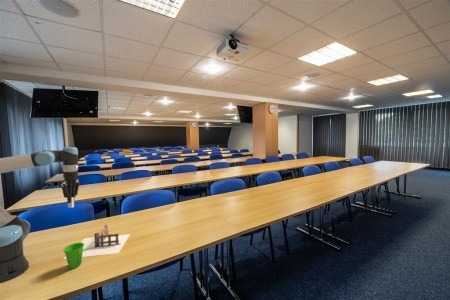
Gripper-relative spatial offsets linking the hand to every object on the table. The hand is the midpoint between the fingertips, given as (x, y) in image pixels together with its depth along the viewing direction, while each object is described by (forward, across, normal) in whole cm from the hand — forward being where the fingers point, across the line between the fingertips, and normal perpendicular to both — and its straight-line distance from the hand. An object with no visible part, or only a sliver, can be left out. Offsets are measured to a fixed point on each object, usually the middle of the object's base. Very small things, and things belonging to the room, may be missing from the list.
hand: (71, 207), depth 125 cm
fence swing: (+25, +9, -15) cm, 31 cm away
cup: (+26, -18, -20) cm, 37 cm away
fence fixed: (+25, +2, -23) cm, 34 cm away
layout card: (+25, +2, -18) cm, 32 cm away
